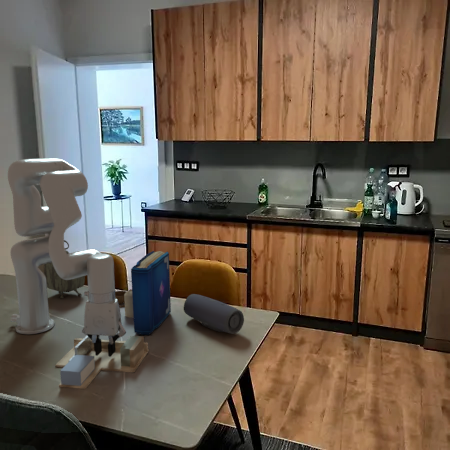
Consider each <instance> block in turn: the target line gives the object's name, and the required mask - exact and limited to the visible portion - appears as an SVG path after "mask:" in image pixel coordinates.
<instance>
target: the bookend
mask: <svg viewBox="0 0 450 450" xmlns="http://www.w3.org/2000/svg"><path fill="white" fill-rule="evenodd" d="M83 338H84V339H83V340H82V341H81V342H79V343H78V344H77V345H76V346H75V347H74V346H73V347H74V348H75V355H86V354H87V353H88V352H89V351H90V350H91V339H90V338H89V337H88V335H86V336H84V337H83ZM75 355H74V356H75ZM74 356H73V357H74ZM73 357H72V358H73ZM72 358H71V359H72ZM71 359H70V360H71ZM70 360H69V361H70ZM69 361H68V362H69Z"/></svg>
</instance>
